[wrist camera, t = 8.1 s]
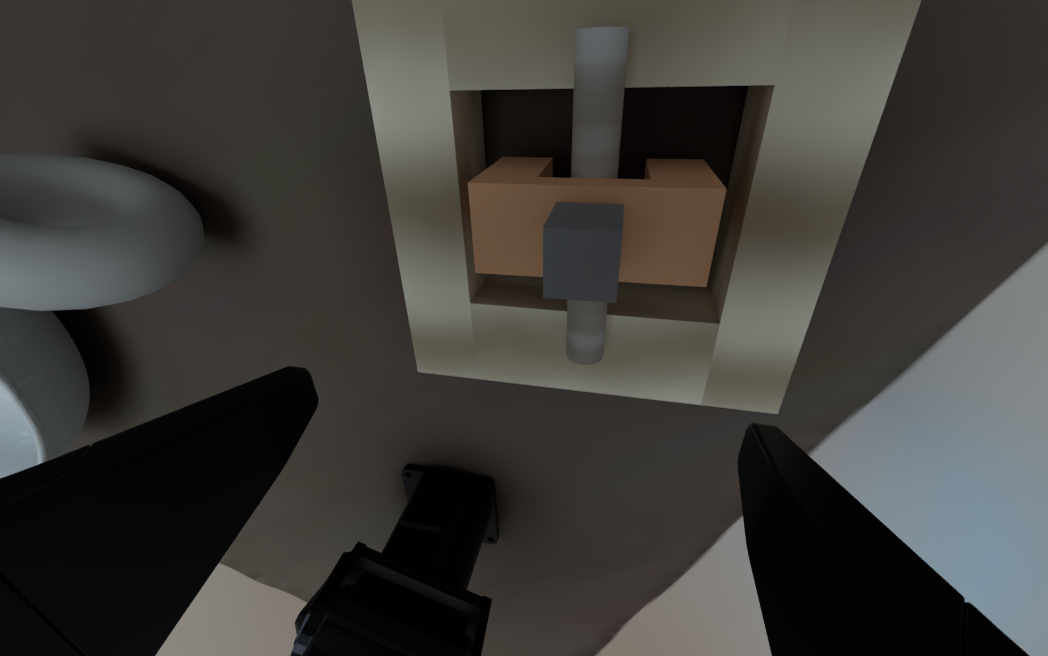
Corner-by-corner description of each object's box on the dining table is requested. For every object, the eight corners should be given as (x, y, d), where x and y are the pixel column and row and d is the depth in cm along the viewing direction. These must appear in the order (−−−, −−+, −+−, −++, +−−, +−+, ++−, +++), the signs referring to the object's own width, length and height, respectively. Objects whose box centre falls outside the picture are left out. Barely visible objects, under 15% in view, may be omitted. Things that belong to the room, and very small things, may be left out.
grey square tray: (758, 365, 21) (788, 439, 17) (444, 334, 25) (404, 391, 20) (889, -75, 13) (1006, -139, 9) (394, -37, 16) (310, -70, 12)
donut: (87, 190, 25) (-193, 256, 16) (74, 127, 23) (-250, 165, 15) (252, 261, 25) (56, 363, 17) (252, 205, 23) (31, 287, 15)
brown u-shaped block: (689, 239, 18) (720, 327, 12) (505, 231, 19) (450, 306, 13) (703, 159, 16) (747, 214, 10) (502, 156, 18) (438, 204, 12)
